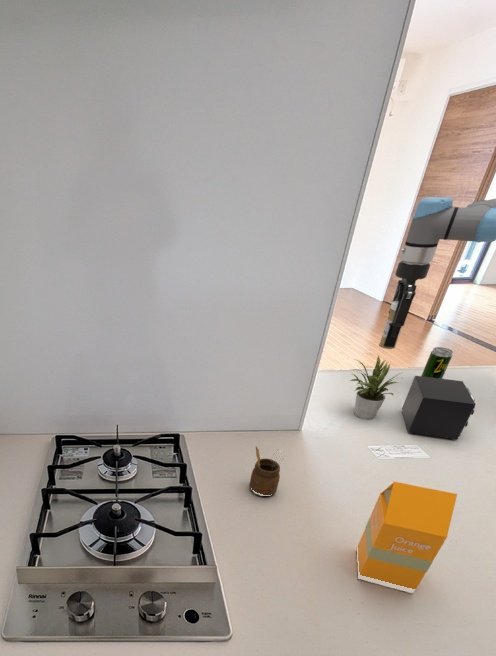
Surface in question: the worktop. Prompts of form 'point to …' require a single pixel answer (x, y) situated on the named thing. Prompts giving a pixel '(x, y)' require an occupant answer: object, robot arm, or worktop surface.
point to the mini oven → (438, 407)
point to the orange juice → (405, 533)
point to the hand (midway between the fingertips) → (387, 343)
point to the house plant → (371, 391)
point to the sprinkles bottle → (386, 329)
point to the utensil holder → (265, 475)
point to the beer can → (437, 362)
